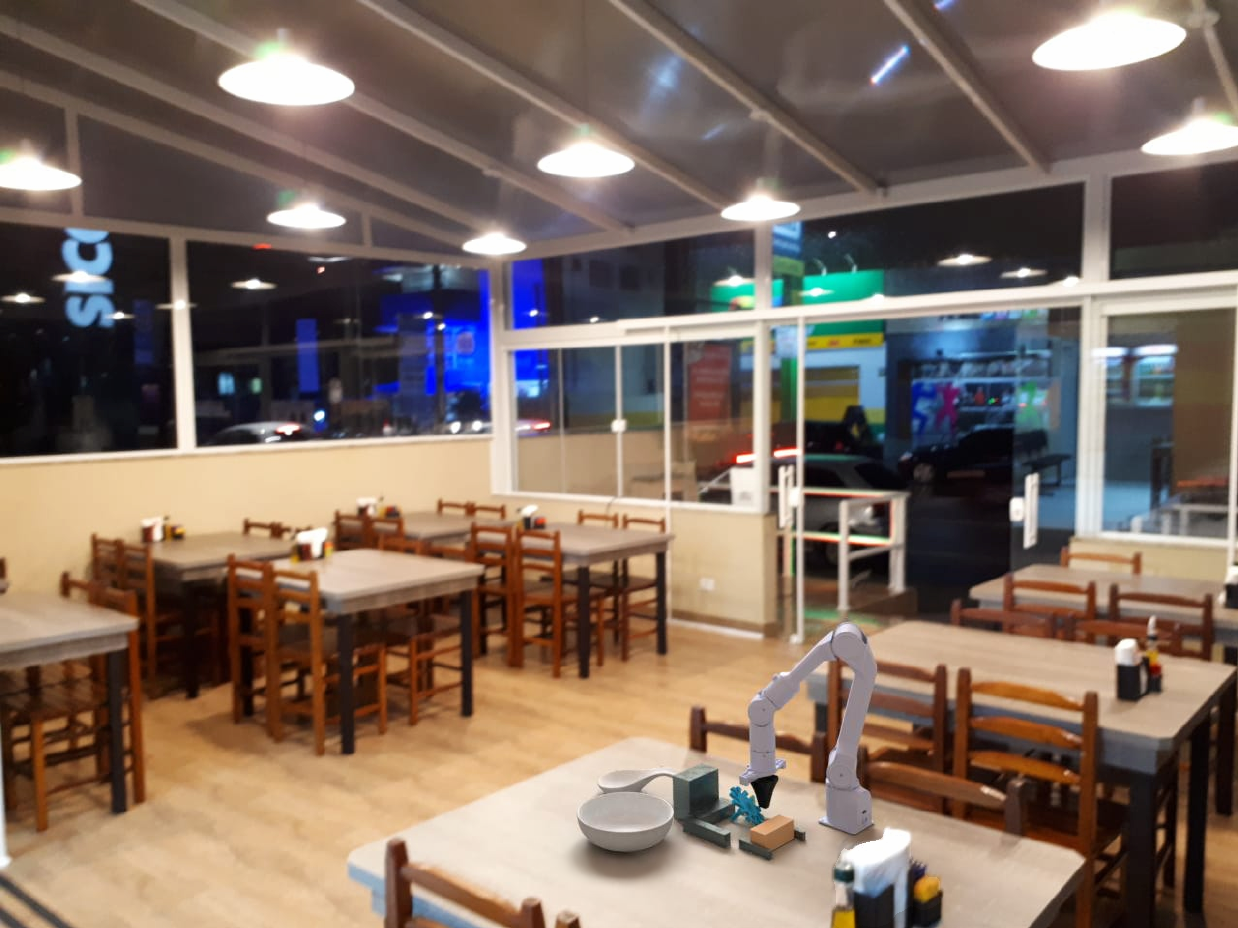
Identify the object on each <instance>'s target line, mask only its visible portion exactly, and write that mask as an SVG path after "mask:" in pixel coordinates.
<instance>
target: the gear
mask: <svg viewBox="0 0 1238 928" xmlns="http://www.w3.org/2000/svg"><path fill="white" fill-rule="evenodd" d="M729 790H730V792H729V793H728V795H729V797H730V798H731V801H732V804H733V805H734V806H735V807H736V808H737V807H738V809H737V810H736V813H735V814H734V815H733V816H731V817H730V818H729V819H730V820H731V822H734V821H736V819H737V818H739V817H740V816H742V815H745V817H744V820H745V821H746V822H747V823H750V822H752V823H751V824H752V825H753V826H754V827H755V826H757V825H759V824H761V823H763V822H764V821H763V820H764V819H765V815H764V814H762V813H761V812H762V808H761V807H759V805H757V804H756V802H757V800H756V795H755V794H751V796H749V792H748V791H747V790H745V789H744V790H743V791H742V788H741V787H740V786H738V785H737V786H732V787H731V788H729ZM748 796H749V797H748Z"/></svg>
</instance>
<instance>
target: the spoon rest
mask: <svg viewBox="0 0 1238 928" xmlns="http://www.w3.org/2000/svg"><path fill="white" fill-rule="evenodd" d="M680 772H681V771H679V770H677V769H674V768H672V767H666V766H661V767H660V766H659V767H652V768H645V769H641V768H640V769H620V770H619V769H618V770H614V771H610V772H607V773H605V774H603V775H602V776H601V777H599V778H598V780H597V784H596V785H597V786H598V788H599V789H600V790H601V791H602V792H603V793H605V794H609V793H616V792H638V793H641V791H642V790H643V789H644V788H645V787H646V786H647V785H649V783H650V782H652V781H653V780H655V779H657V778H659V777H660V778H661V777H668V778H670V779H673V775H675V774H678V773H680Z"/></svg>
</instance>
